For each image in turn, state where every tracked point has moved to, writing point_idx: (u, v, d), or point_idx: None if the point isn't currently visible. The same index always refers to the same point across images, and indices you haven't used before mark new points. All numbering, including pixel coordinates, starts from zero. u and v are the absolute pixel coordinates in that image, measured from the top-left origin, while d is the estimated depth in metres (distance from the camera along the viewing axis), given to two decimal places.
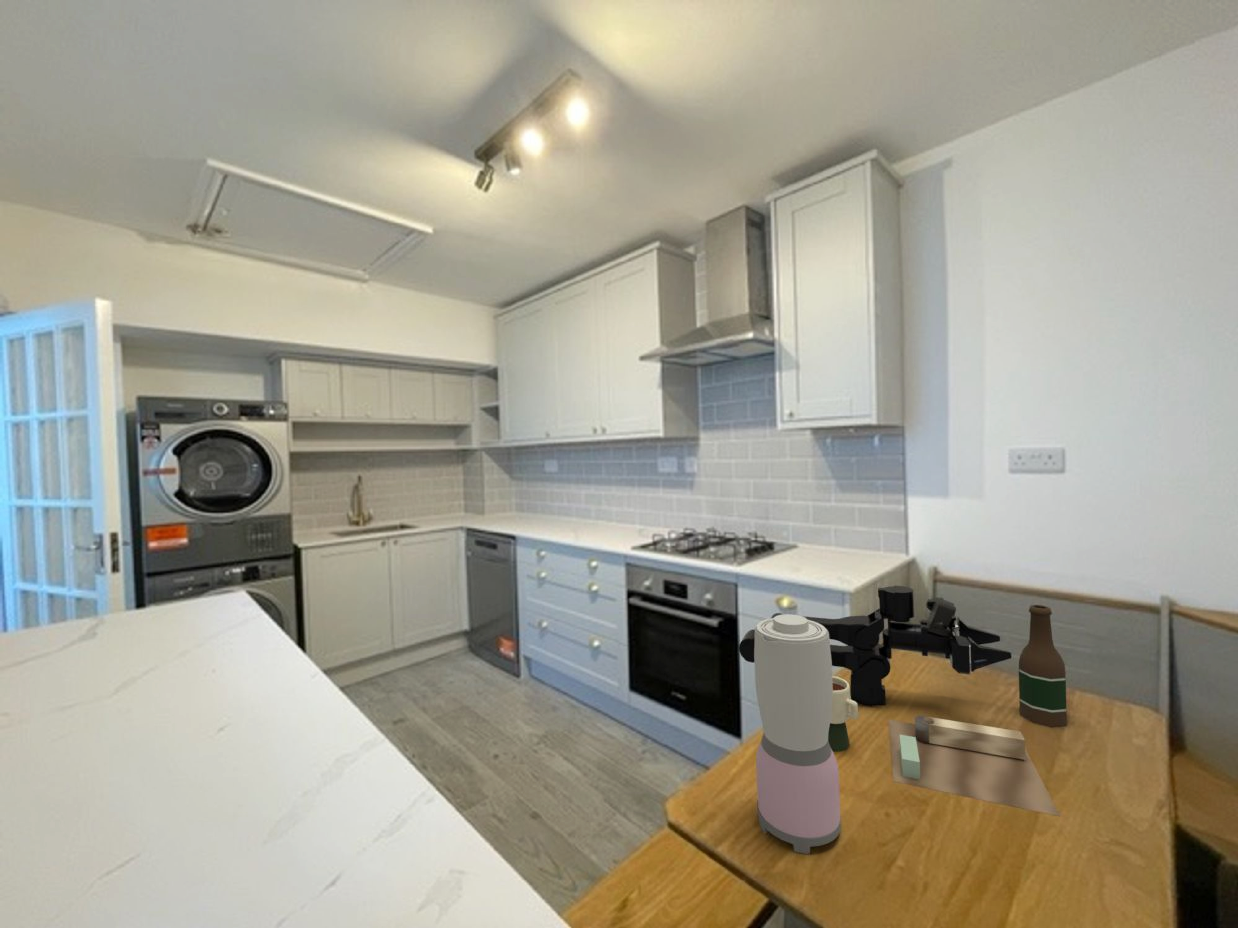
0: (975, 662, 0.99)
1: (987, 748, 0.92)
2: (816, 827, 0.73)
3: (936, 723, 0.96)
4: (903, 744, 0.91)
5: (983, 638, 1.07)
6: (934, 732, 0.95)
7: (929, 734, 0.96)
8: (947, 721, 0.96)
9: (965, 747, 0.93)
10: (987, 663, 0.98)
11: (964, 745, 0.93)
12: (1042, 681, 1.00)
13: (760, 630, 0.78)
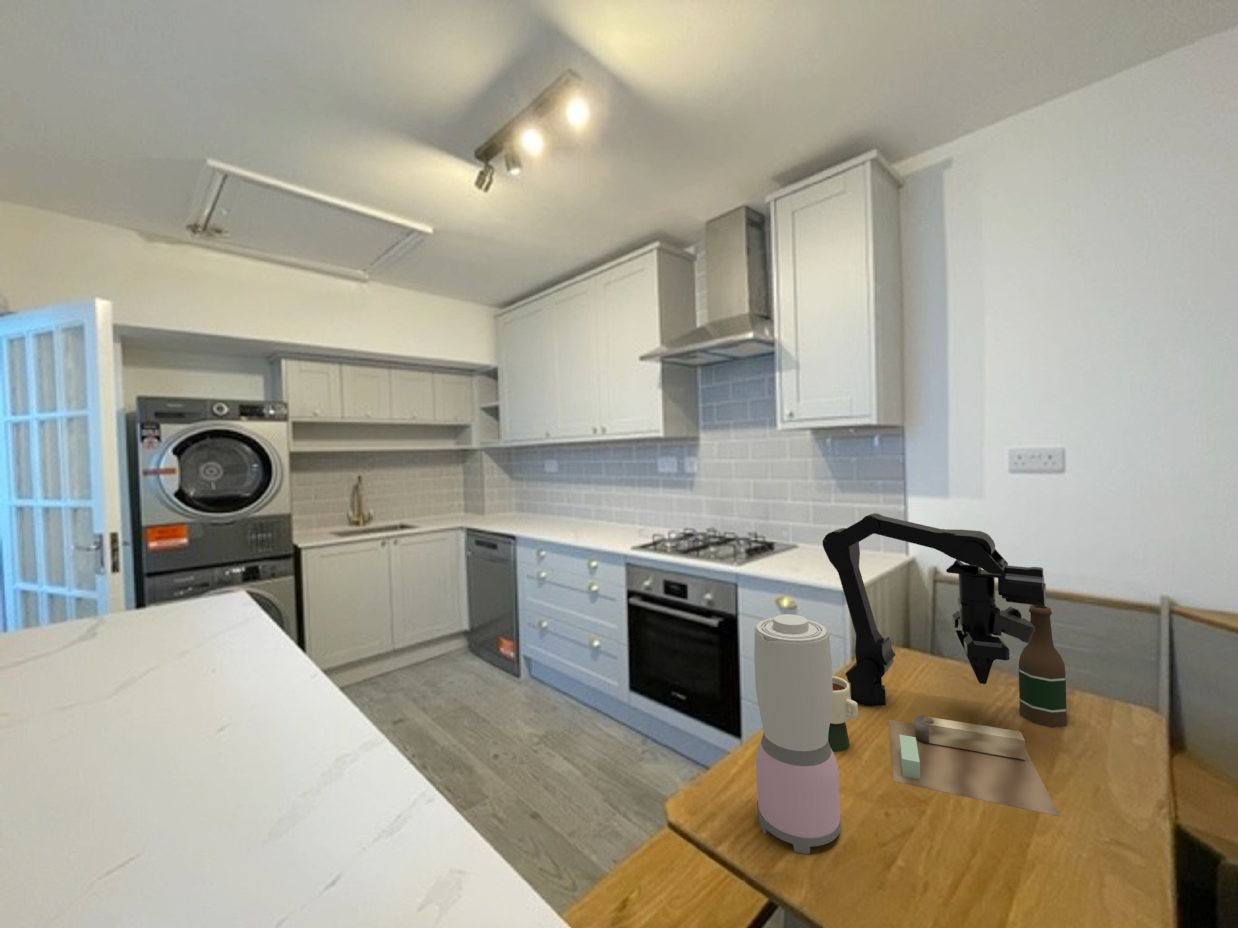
0: None
1: (987, 748, 0.92)
2: (816, 827, 0.73)
3: (936, 723, 0.96)
4: (903, 744, 0.91)
5: None
6: (934, 732, 0.95)
7: (929, 734, 0.96)
8: (947, 721, 0.96)
9: (965, 747, 0.93)
10: (972, 664, 0.96)
11: (964, 745, 0.93)
12: (1042, 681, 1.00)
13: (760, 630, 0.78)
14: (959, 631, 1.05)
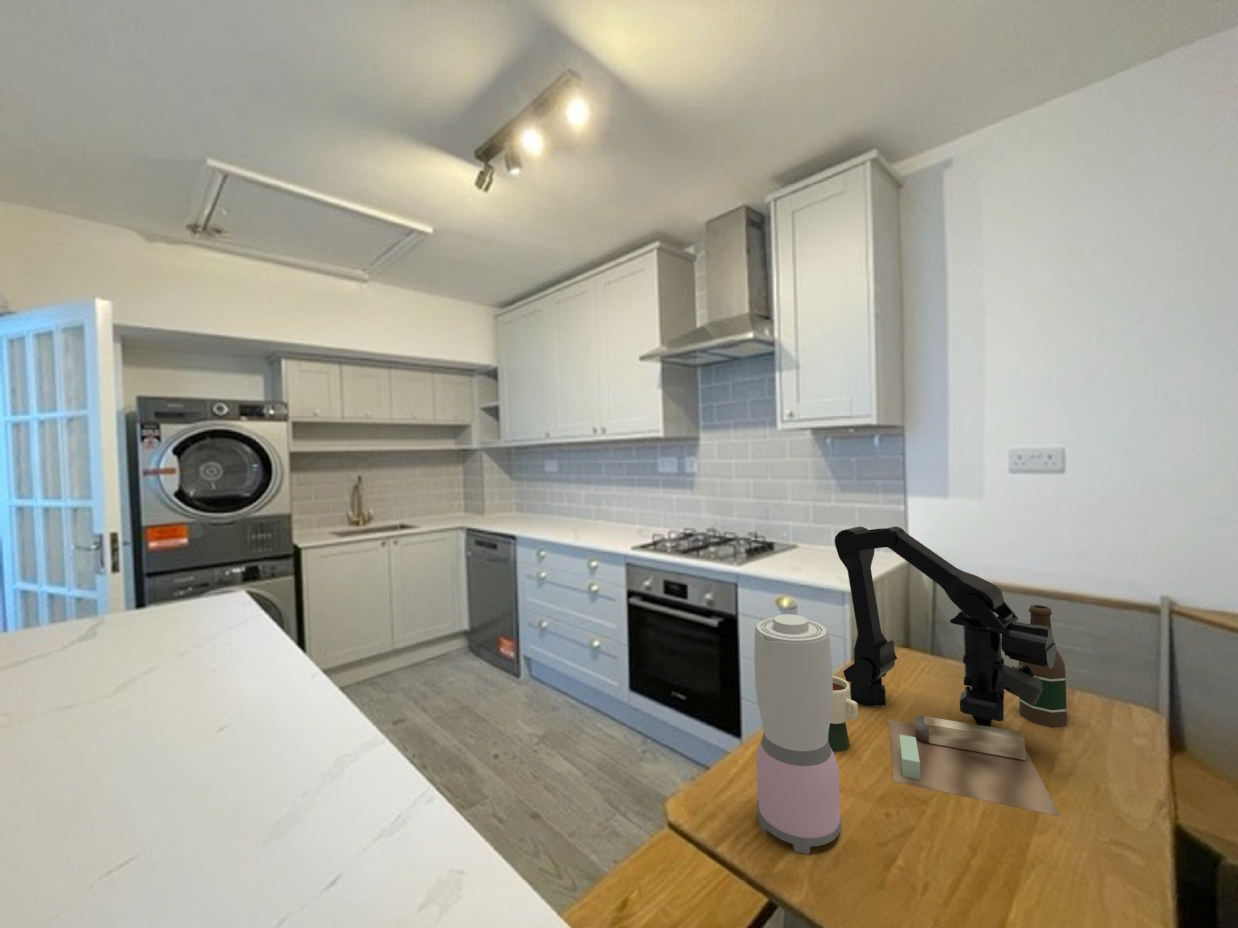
0: None
1: (987, 748, 0.92)
2: (816, 827, 0.73)
3: (936, 723, 0.96)
4: (903, 744, 0.91)
5: None
6: (934, 732, 0.95)
7: (929, 734, 0.96)
8: (947, 721, 0.96)
9: (965, 747, 0.93)
10: None
11: (964, 745, 0.93)
12: (1042, 681, 1.00)
13: (760, 630, 0.78)
14: (969, 688, 0.99)
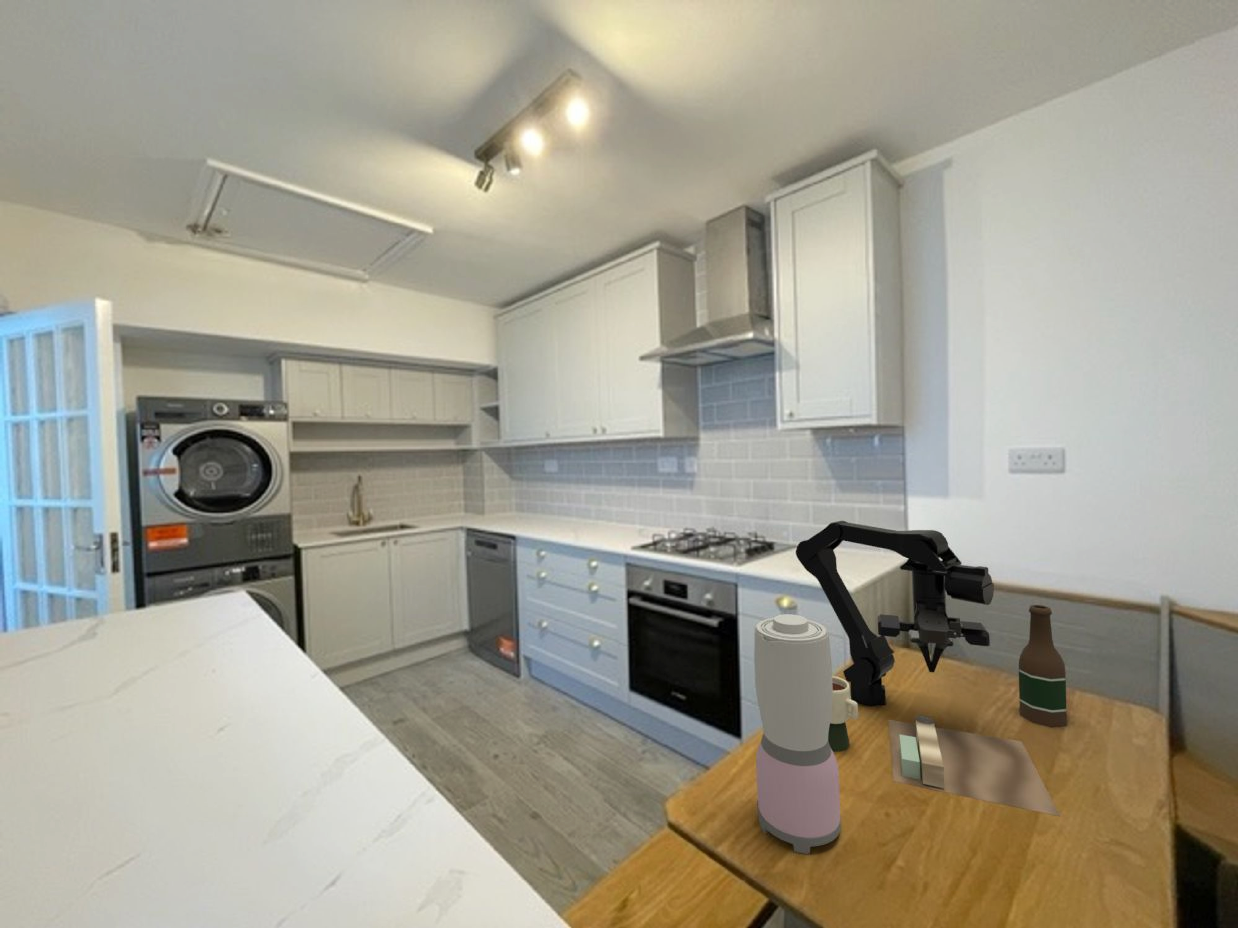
0: None
1: None
2: (816, 827, 0.73)
3: (921, 724, 0.96)
4: (903, 744, 0.91)
5: (931, 657, 1.03)
6: None
7: (915, 729, 0.97)
8: (932, 731, 0.93)
9: (918, 752, 0.92)
10: None
11: (918, 750, 0.92)
12: (1042, 681, 1.00)
13: (760, 630, 0.78)
14: None
